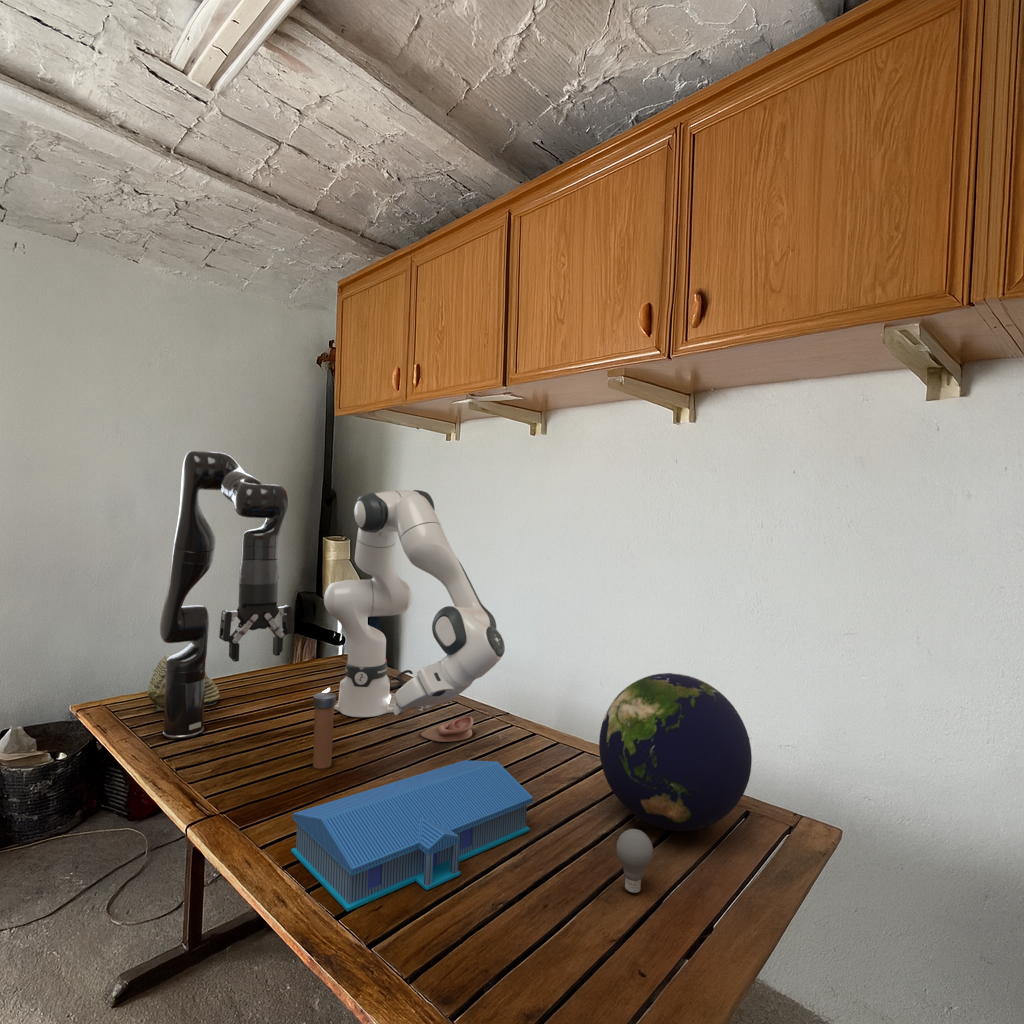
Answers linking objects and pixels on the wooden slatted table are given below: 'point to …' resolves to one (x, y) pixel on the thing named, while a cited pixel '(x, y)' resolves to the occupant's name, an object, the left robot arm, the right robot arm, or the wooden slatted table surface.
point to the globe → (675, 752)
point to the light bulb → (634, 857)
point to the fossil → (158, 687)
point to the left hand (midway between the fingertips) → (256, 657)
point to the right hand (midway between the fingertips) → (408, 710)
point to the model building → (409, 830)
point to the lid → (324, 700)
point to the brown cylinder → (323, 737)
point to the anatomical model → (450, 730)
